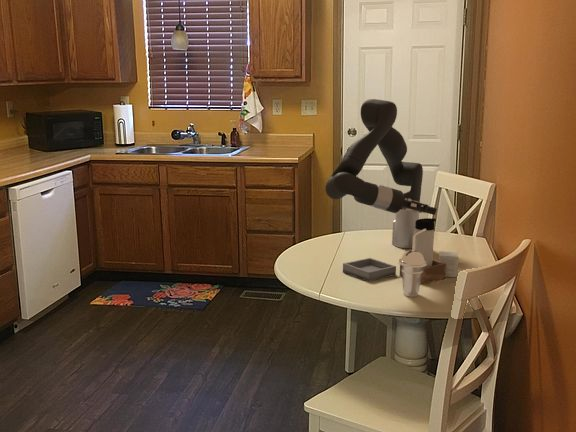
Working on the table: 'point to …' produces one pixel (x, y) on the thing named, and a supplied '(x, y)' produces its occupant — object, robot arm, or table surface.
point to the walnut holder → (432, 272)
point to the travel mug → (425, 239)
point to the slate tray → (369, 269)
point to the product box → (449, 262)
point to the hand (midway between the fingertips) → (428, 210)
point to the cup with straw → (412, 269)
